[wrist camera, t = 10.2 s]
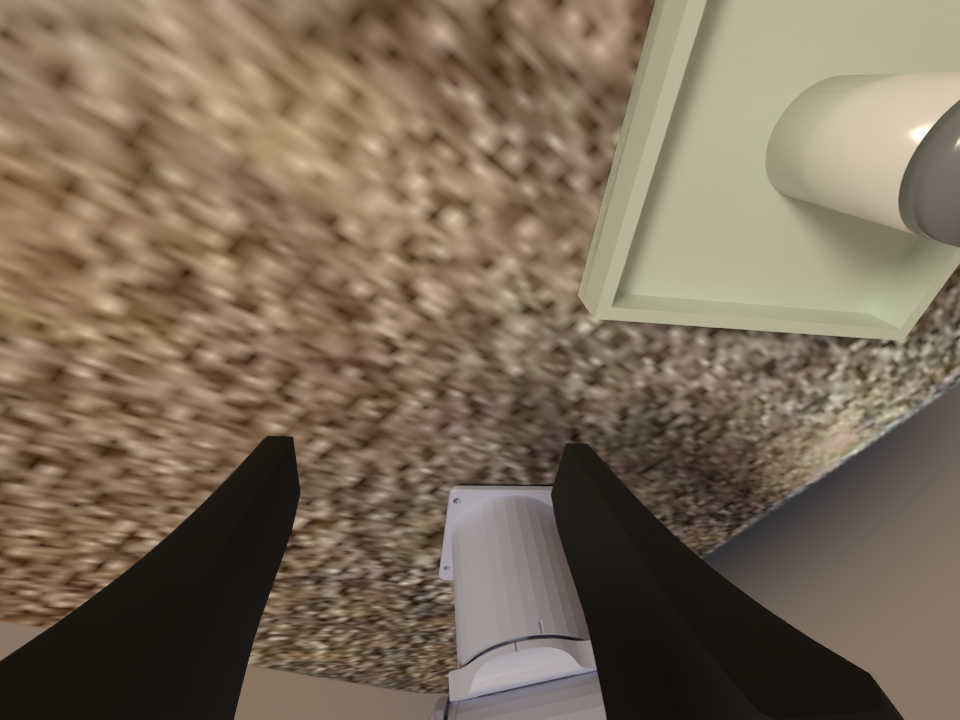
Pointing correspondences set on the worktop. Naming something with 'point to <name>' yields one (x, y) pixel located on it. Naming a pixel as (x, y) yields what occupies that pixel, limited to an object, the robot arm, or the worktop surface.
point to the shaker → (875, 150)
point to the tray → (757, 174)
